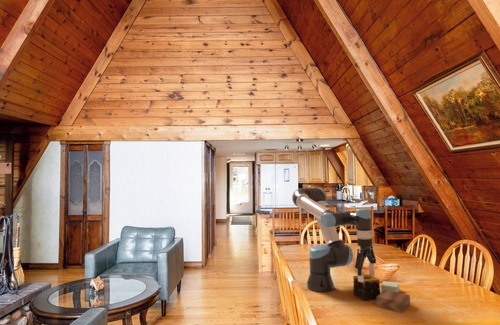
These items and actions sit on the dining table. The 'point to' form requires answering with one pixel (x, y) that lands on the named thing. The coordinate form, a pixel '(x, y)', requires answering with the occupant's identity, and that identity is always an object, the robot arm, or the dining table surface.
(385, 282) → the sage block
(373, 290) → the candle
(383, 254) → the dining table surface
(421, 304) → the dining table surface
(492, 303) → the dining table surface
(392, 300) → the walnut plinth
